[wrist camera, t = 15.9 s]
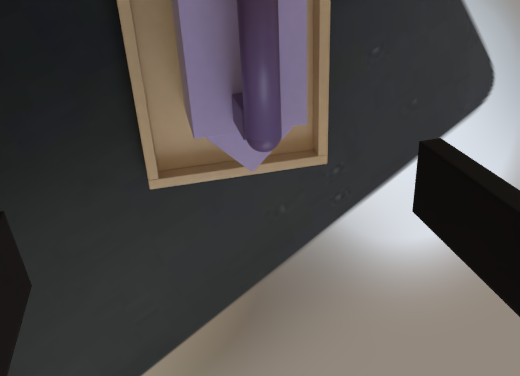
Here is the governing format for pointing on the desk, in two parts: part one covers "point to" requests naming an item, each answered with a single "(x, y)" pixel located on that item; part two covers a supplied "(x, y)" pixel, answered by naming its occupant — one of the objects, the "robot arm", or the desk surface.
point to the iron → (243, 72)
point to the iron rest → (174, 115)
